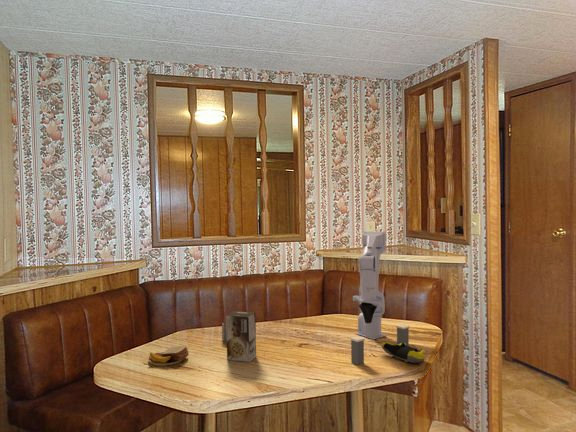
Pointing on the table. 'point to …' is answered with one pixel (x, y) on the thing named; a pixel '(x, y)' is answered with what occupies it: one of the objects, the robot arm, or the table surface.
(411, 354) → the black yellow sneaker
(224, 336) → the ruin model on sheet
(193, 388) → the table surface
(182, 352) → the toy sandwich meal
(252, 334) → the coffee box
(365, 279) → the robot arm
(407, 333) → the posts
